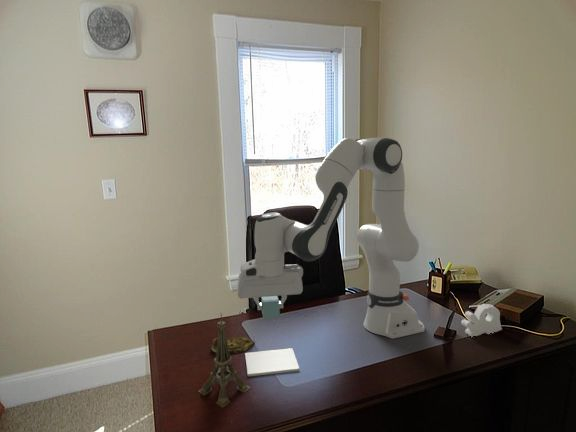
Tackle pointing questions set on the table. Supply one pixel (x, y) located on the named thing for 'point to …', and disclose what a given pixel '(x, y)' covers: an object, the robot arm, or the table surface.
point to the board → (271, 362)
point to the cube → (270, 307)
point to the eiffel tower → (223, 370)
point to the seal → (235, 344)
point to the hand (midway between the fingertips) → (270, 308)
